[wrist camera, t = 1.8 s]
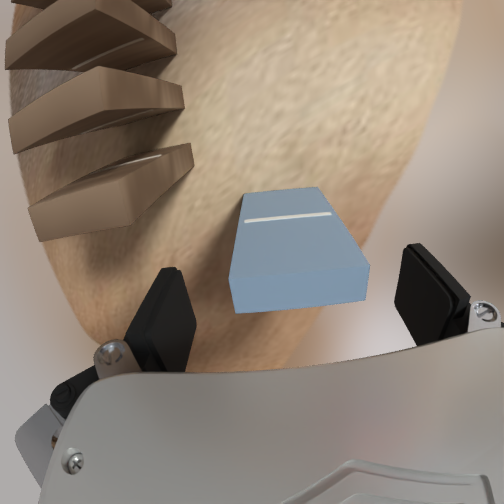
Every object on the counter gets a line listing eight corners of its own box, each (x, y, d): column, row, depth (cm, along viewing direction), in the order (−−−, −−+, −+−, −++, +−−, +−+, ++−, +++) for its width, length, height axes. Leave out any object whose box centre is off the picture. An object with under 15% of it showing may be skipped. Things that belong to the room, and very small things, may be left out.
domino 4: (124, 157, 17) (27, 206, 8) (190, 142, 16) (117, 178, 8) (129, 179, 18) (40, 243, 9) (194, 166, 17) (130, 226, 9)
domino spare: (243, 193, 18) (228, 277, 9) (317, 186, 18) (370, 263, 9) (247, 216, 19) (235, 314, 10) (318, 209, 19) (365, 301, 10)
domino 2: (109, 55, 13) (6, 39, 4) (174, 33, 13) (96, -23, 4) (111, 76, 14) (5, 70, 5) (177, 54, 13) (95, 9, 5)
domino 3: (114, 104, 15) (8, 118, 6) (181, 85, 15) (98, 64, 6) (118, 126, 16) (13, 155, 7) (184, 108, 15) (103, 112, 7)
